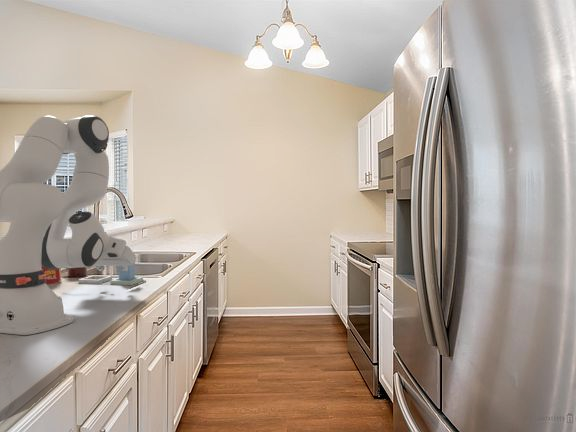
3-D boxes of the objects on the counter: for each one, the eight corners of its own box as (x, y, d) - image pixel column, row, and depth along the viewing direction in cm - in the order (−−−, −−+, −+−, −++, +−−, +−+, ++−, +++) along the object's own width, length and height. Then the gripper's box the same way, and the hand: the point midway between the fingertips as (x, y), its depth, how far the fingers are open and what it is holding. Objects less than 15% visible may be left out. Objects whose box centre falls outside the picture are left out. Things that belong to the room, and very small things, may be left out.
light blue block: (129, 283, 157) (129, 255, 157) (118, 283, 157) (118, 255, 157) (134, 281, 161) (134, 254, 161) (124, 281, 162) (124, 254, 161)
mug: (93, 277, 176) (92, 254, 176) (77, 280, 168) (76, 256, 168) (72, 275, 180) (72, 253, 180) (55, 278, 172) (55, 255, 171)
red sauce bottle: (41, 287, 154) (40, 236, 154) (28, 285, 159) (27, 235, 158) (64, 283, 162) (63, 235, 161) (51, 281, 167) (51, 234, 166)
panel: (146, 282, 165) (146, 276, 164) (130, 288, 153) (130, 282, 153) (93, 280, 168) (93, 274, 168) (74, 286, 156) (74, 280, 156)
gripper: (67, 253, 138) (84, 276, 148) (123, 254, 136) (136, 277, 146) (75, 239, 142) (91, 262, 152) (129, 240, 140) (142, 263, 150)
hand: (114, 269), depth 149 cm, fingers open, 8 cm apart
